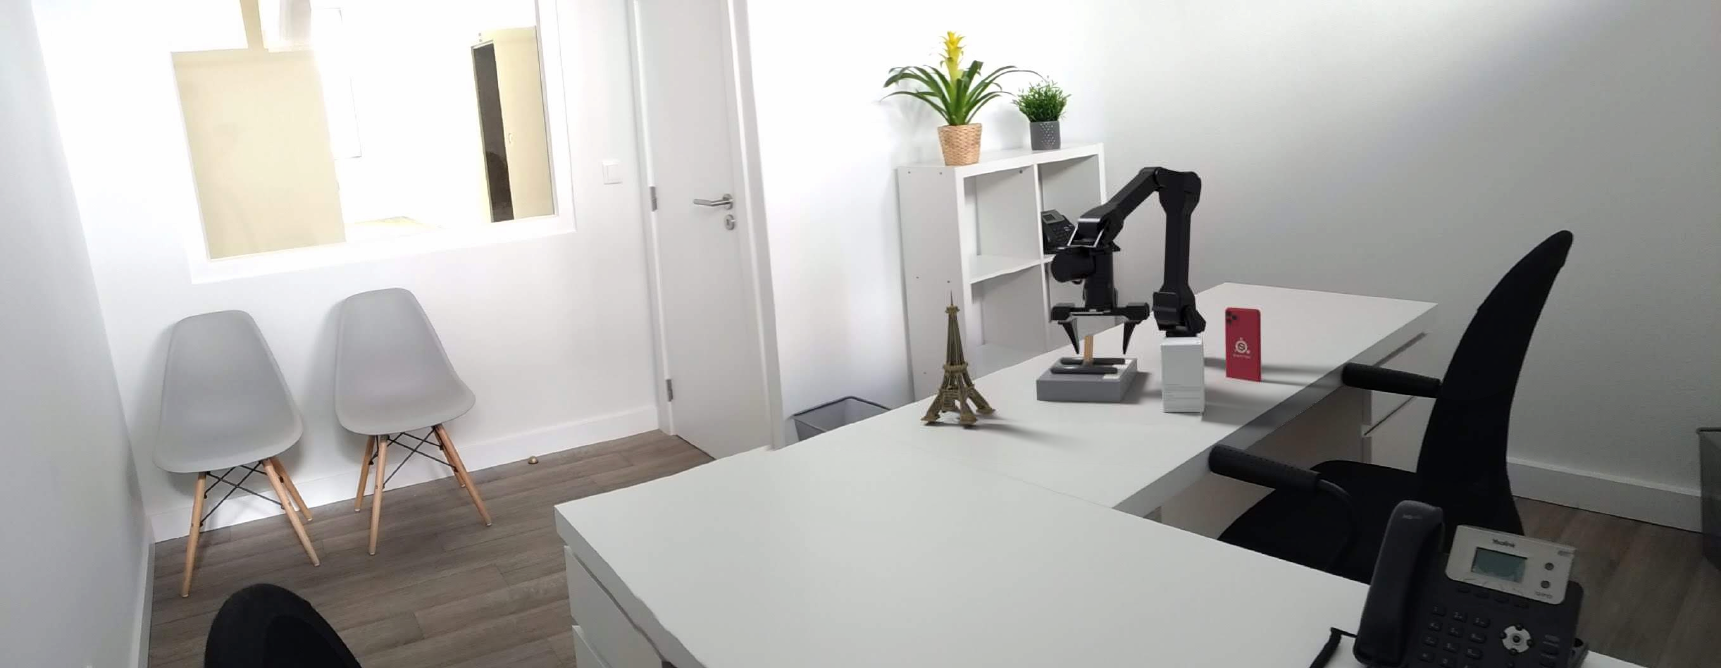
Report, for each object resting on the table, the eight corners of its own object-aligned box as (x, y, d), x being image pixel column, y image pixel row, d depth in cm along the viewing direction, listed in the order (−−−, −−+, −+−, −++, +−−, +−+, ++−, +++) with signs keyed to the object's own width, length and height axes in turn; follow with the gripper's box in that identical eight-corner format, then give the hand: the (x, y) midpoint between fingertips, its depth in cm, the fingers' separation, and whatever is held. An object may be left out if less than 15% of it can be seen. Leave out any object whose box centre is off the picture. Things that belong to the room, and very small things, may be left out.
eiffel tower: (945, 407, 211) (937, 280, 207) (995, 410, 206) (988, 280, 202) (920, 420, 202) (912, 288, 198) (972, 424, 197) (964, 288, 193)
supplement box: (1205, 403, 200) (1204, 336, 198) (1204, 413, 193) (1203, 343, 191) (1164, 402, 202) (1162, 336, 200) (1161, 412, 195) (1159, 344, 193)
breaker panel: (1137, 377, 225) (1136, 351, 224) (1119, 402, 205) (1118, 374, 204) (1061, 375, 231) (1060, 351, 230) (1036, 400, 211) (1035, 373, 210)
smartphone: (1261, 384, 211) (1260, 309, 208) (1259, 385, 210) (1258, 309, 208) (1227, 380, 216) (1225, 306, 214) (1224, 381, 216) (1223, 307, 213)
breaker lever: (1094, 365, 219) (1095, 334, 218) (1089, 370, 215) (1090, 338, 214) (1086, 364, 220) (1087, 333, 218) (1081, 369, 216) (1082, 337, 214)
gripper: (1152, 270, 217) (1154, 346, 220) (1060, 272, 224) (1063, 346, 227) (1144, 277, 207) (1146, 357, 209) (1048, 279, 214) (1051, 356, 217)
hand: (1101, 354), depth 216 cm, fingers open, 9 cm apart
